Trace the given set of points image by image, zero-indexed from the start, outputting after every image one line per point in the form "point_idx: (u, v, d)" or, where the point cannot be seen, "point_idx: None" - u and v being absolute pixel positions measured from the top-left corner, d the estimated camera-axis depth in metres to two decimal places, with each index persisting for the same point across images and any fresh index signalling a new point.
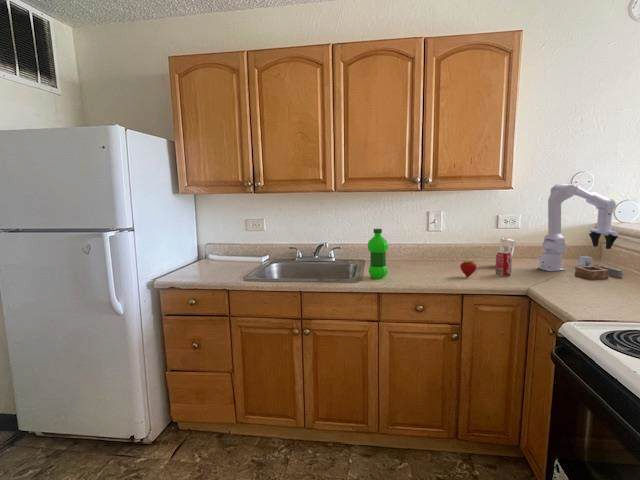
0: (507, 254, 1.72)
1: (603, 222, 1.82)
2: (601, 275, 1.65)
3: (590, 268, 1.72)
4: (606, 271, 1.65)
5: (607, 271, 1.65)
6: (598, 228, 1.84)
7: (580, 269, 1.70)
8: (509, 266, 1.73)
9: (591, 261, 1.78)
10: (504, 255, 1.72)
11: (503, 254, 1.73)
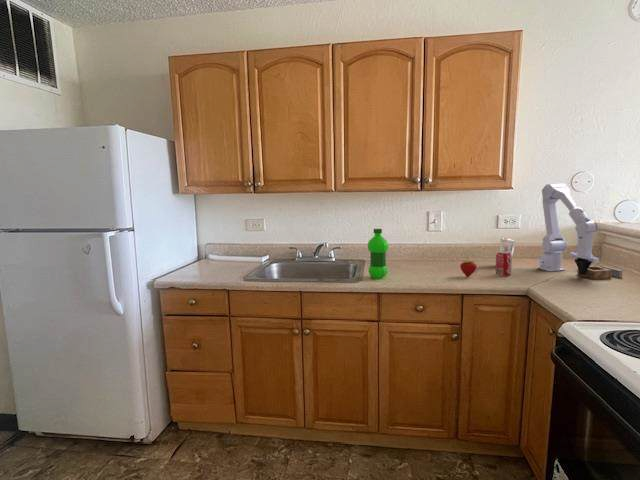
0: (507, 254, 1.72)
1: (583, 247, 1.64)
2: (604, 275, 1.65)
3: (593, 268, 1.72)
4: (609, 271, 1.65)
5: (610, 271, 1.65)
6: (578, 253, 1.67)
7: None
8: (509, 266, 1.73)
9: None
10: (504, 255, 1.72)
11: (503, 254, 1.73)
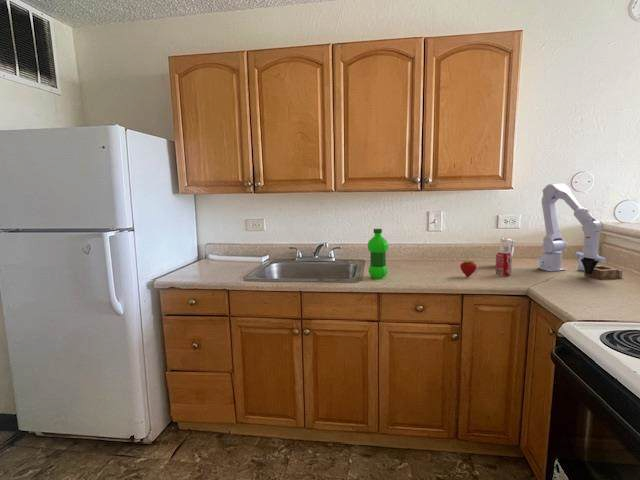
0: (507, 254, 1.72)
1: (590, 246, 1.65)
2: (611, 274, 1.65)
3: (599, 267, 1.72)
4: (616, 270, 1.65)
5: (617, 270, 1.65)
6: (584, 253, 1.67)
7: None
8: (509, 266, 1.73)
9: None
10: (504, 255, 1.72)
11: (503, 254, 1.73)
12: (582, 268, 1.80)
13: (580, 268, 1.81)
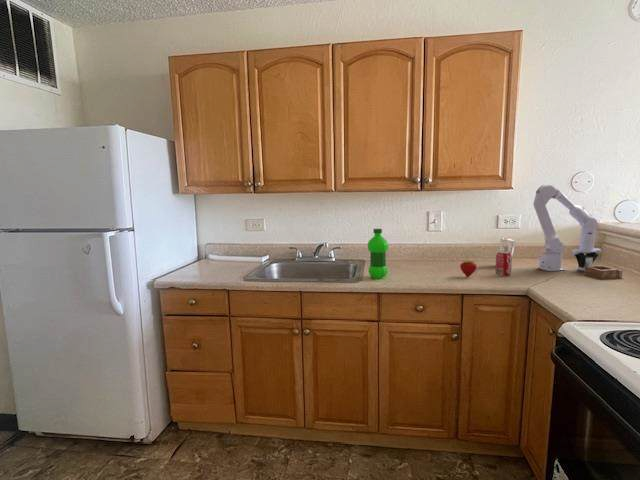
0: (507, 254, 1.72)
1: None
2: (611, 274, 1.65)
3: (599, 267, 1.72)
4: (616, 270, 1.65)
5: (617, 270, 1.65)
6: None
7: (590, 268, 1.70)
8: (509, 266, 1.73)
9: (591, 261, 1.78)
10: (504, 255, 1.72)
11: (503, 254, 1.73)
12: (582, 268, 1.80)
13: (580, 268, 1.81)
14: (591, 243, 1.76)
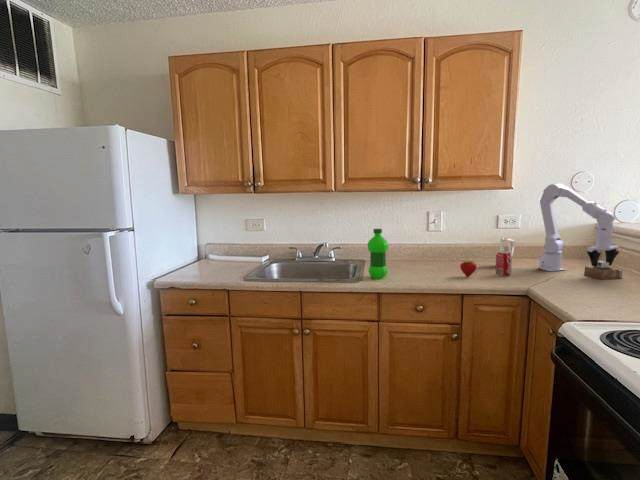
0: (507, 254, 1.72)
1: (596, 237, 1.69)
2: (611, 274, 1.65)
3: None
4: (616, 270, 1.65)
5: (617, 270, 1.65)
6: None
7: (590, 268, 1.70)
8: (509, 266, 1.73)
9: (607, 266, 1.67)
10: (504, 255, 1.72)
11: (503, 254, 1.73)
12: None
13: None
14: (608, 240, 1.64)
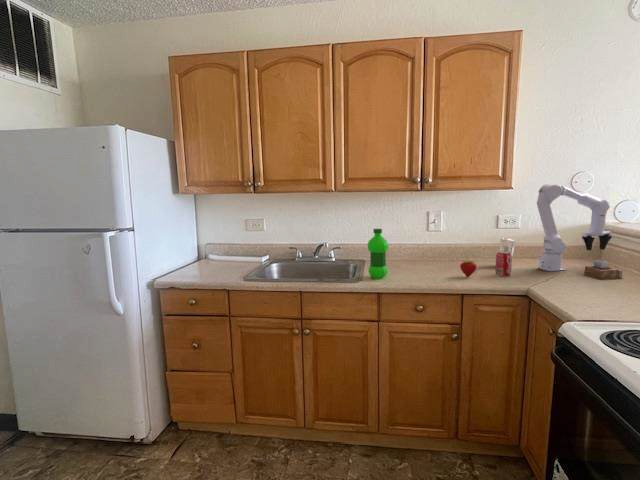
0: (507, 254, 1.72)
1: (591, 223, 1.82)
2: (611, 274, 1.65)
3: None
4: (616, 270, 1.65)
5: (617, 270, 1.65)
6: None
7: (590, 268, 1.70)
8: (509, 266, 1.73)
9: (607, 266, 1.67)
10: (504, 255, 1.72)
11: (503, 254, 1.73)
12: None
13: None
14: (602, 225, 1.77)
